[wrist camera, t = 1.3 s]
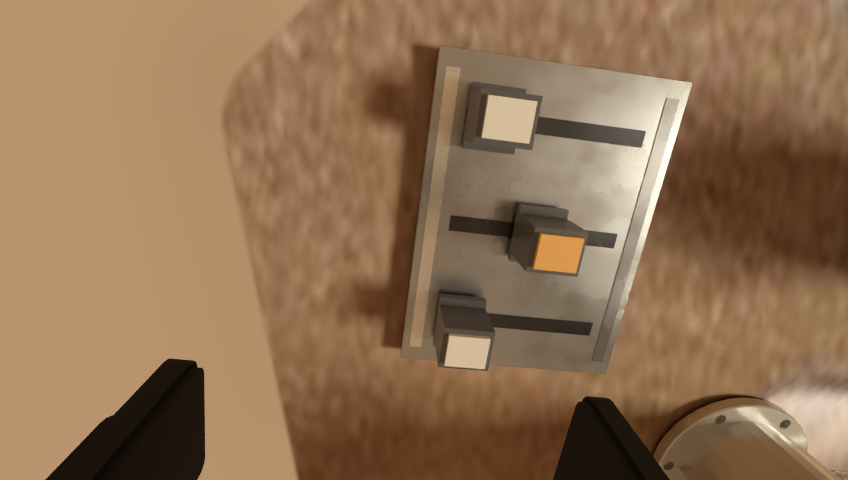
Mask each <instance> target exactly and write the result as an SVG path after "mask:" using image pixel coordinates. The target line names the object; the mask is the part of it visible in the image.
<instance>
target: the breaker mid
mask: <svg viewBox="0 0 848 480" xmlns="http://www.w3.org/2000/svg"><path fill="white" fill-rule="evenodd" d="M568 213H569V211H568V210H566V209H562V208H553V207H545V206H536V205H528V204H519V203H518V208H517V213H516V218H515V223H514V229H513V234H512V239H511V244H510V249H509V254H508V259H509V261H511V262H518V263H519V264H520V265H521V266H522V268H523V269H524V270H525V271H526V272H534V273H544V274H553V275H563V276H573V277H578V273H579V269H580V266H581V262H582V258H583V254H584V250H585V246H586V242H587V238H588V234H589V232H587V231H586V230H584V229H582V228H581V227H579V226H578V225H576V224H574V223H573V222H571V221H570V220H568V219H567V217H568Z"/></svg>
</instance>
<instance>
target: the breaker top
mask: <svg viewBox="0 0 848 480" xmlns="http://www.w3.org/2000/svg"><path fill="white" fill-rule="evenodd" d="M485 308H486V299H485V298H483V297H472V296H461V295H451V294H440V296H439V303H438V310H437V316H436V323H435V330H434V336H433V347H435V348H436V355H437V362H438V367H444V368H457V369H470V370H483V371H488V368H489V363H490V358H491V353H492V348H493V343H494V338H495V333H496V332H495V330H494V328H493V325H492V323H491V321H490V318H489V316H488V314H487V312H486V309H485Z"/></svg>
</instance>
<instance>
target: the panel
mask: <svg viewBox="0 0 848 480" xmlns="http://www.w3.org/2000/svg"><path fill="white" fill-rule="evenodd" d="M472 82H480V83H487V84H494V85H501V86H508V87H516V88H523V89H527V90H526V94H532V95H539V96H543V98H542V103H541V108H540V113H539V118H538V123H537V128H536V133H535V138H534V143H533V148H532V150H526V149H518V148H515V154H514V155H512V154H504V153H496V152H488V151H480V150H473V149H465V148H462V144H463V137H464V130H465V124H466V117H467V110H468V104H469V97H470V90H471V84H472ZM691 86H692V83H689V82H683V81H676V80H669V79H662V78H656V77H649V76H642V75H636V74H629V73H622V72H615V71H609V70H602V69H595V68H589V67H582V66H575V65H568V64H562V63H555V62H548V61H542V60H535V59H528V58H521V57H515V56H508V55H501V54H495V53H488V52H481V51H474V50H468V49H461V48H454V47H448V46H441V45H440V46H439V48H438V54H437V62H436V70H435V78H434V86H433V94H432V102H431V110H430V118H429V126H428V134H427V142H426V150H425V158H424V166H423V174H422V182H421V190H420V198H419V206H418V214H417V222H416V230H415V238H414V246H413V254H412V262H411V270H410V278H409V286H408V294H407V302H406V310H405V318H404V326H403V334H402V342H401V358H411V359H424V360H436V361H437V355H436V348H435V347H433V336H434V330H435V323H436V316H437V310H438V303H439V296H440V294H451V295H461V296H472V297H483V298H485V299H486V308H485V309H486V312H487V314H488V316H489V318H490V321H491V323H492V325H493V328H494V330H495V332H496V333H495V338H494V343H493V348H492V353H491V358H490V363H489V365H499V366H512V367H524V368H537V369H549V370H562V371H574V372H587V373H600V374H605V373H606V370H607V367H608V363H609V360H610V357H611V353H612V350H613V347H614V343H615V340H616V337H617V333H618V330H619V327H620V323H621V320H622V317H623V313H624V310H625V307H626V303H627V300H628V297H629V293H630V290H631V287H632V283H633V280H634V276H635V273H636V270H637V266H638V263H639V260H640V256H641V253H642V250H643V246H644V243H645V240H646V236H647V233H648V230H649V226H650V223H651V220H652V216H653V213H654V210H655V206H656V203H657V200H658V196H659V193H660V190H661V186H662V183H663V180H664V176H665V173H666V169H667V166H668V163H669V159H670V156H671V153H672V149H673V146H674V143H675V139H676V136H677V133H678V129H679V126H680V123H681V119H682V116H683V113H684V109H685V106H686V103H687V99H688V96H689V93H690V89H691ZM518 203H519V204H528V205H536V206H545V207H553V208H562V209H566V210H568V211H569V213H568V217H567V219H568V220H570V221H571V222H573V223H574V224H576V225H578V226H579V227H581V228H582V229H584V230H586V231H587V232H589V234H588V238H587V242H586V246H585V250H584V254H583V258H582V262H581V266H580V269H579V273H578V277H573V276H563V275H553V274H544V273H534V272H526V271H525V270H524V269H523V268H522V266H521V265H520V264H519V263H518V262H511V261H509V259H508V254H509V249H510V244H511V239H512V234H513V229H514V223H515V218H516V213H517V208H518Z"/></svg>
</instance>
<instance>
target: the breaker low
mask: <svg viewBox="0 0 848 480" xmlns="http://www.w3.org/2000/svg"><path fill="white" fill-rule="evenodd" d="M526 90H527V89H523V88H516V87H508V86H501V85H494V84H487V83H480V82H472V84H471V90H470V97H469V104H468V110H467V117H466V124H465V130H464V137H463V144H462V148H465V149H473V150H480V151H488V152H496V153H504V154H512V155H514V154H515V148H518V149H526V150H532V148H533V143H534V138H535V133H536V128H537V123H538V118H539V113H540V108H541V103H542V98H543V96H539V95H532V94H526Z"/></svg>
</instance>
